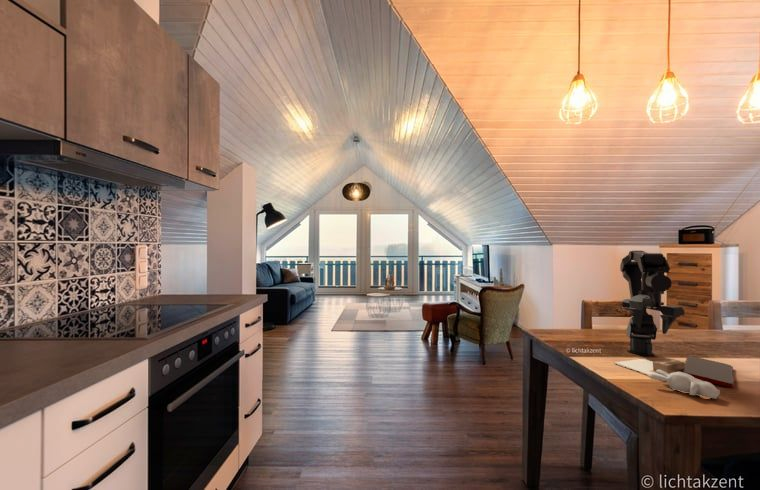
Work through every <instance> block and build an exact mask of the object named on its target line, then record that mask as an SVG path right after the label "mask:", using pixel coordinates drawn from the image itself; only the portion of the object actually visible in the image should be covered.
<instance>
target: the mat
mask: <svg viewBox="0 0 760 490" xmlns="http://www.w3.org/2000/svg"><path fill="white" fill-rule="evenodd" d="M653 362H654V361H651V360H648V359H645V358H640V359H631V360H623V361H622V360H621V361H614V362H613V364H614V365H616V364H617V365H616V366H618V365H620V366H619V367H621V366H624V367H627V368H630V369H633V370H636V371H639V372H642V373H644V374H647V375H650V374H651V373H653V374H657V375H660V374H658V373H656V372H655V371H653ZM624 367H623V368H624ZM627 368H626V369H627ZM630 369H629V370H630ZM644 374H643V375H644ZM661 376H663V375H661ZM664 377H665V376H664Z"/></svg>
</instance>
